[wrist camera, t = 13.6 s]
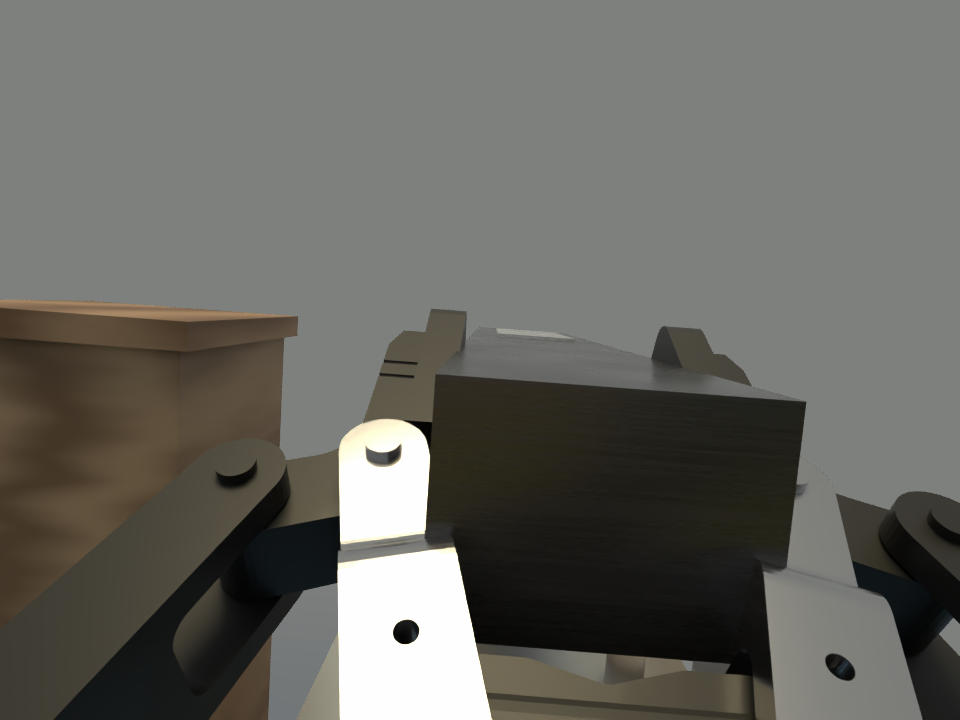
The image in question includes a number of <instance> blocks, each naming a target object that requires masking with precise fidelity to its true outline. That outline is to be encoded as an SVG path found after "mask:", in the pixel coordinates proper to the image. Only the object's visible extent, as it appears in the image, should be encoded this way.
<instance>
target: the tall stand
mask: <svg viewBox="0 0 960 720" xmlns="http://www.w3.org/2000/svg"><path fill="white" fill-rule="evenodd" d="M297 325H298V316H284V315H271V314H257V313H244V312H231V311H217V310H204V309H189V308H176V307H163V306H149V305H136V304H122V303H109V302H95V301H53V300H52V301H51V300H0V629H1V628H2V627H3V626H4V625H5V624H6V623H8V622H9V621H10V620H11V619H12V618H13V617H14V616H16V615H17V614H18V613H19V612H20V611H21V610H23V609H24V608H25V607H26V606H27V605H28V604H30V603H31V602H32V601H33V600H34V599H35V598H37V597H38V596H39V595H40V594H41V593H42V592H43V591H45V590H46V589H47V588H48V587H49V586H50V585H52V584H53V583H54V582H55V581H56V580H57V579H59V578H60V577H61V576H62V575H63V574H64V573H65V572H67V571H68V570H69V569H70V568H71V567H72V566H74V565H75V564H76V563H77V562H78V561H79V560H81V559H82V558H83V557H84V556H85V555H86V554H88V553H89V552H90V551H91V550H92V549H93V548H94V547H96V546H97V545H98V544H99V543H100V542H101V541H103V540H104V539H105V538H106V537H107V536H108V535H110V534H111V533H112V532H113V531H114V530H115V529H117V528H118V527H119V526H120V525H121V524H122V523H123V522H125V521H126V520H127V519H128V518H129V517H130V516H132V515H133V514H134V513H135V512H136V511H137V510H139V509H140V508H141V507H142V506H143V505H144V504H145V503H147V502H148V501H149V500H150V499H151V498H152V497H154V496H155V495H156V494H157V493H158V492H159V491H161V490H162V489H163V488H164V487H165V486H166V485H168V484H169V483H170V482H171V481H172V480H173V479H174V478H176V477H177V476H178V475H179V474H180V473H181V472H183V471H184V470H185V469H186V468H187V467H188V466H190V465H191V464H192V463H193V462H194V461H195V460H197V459H198V458H199V457H200V456H201V455H203V454H204V453H205V452H207V451H208V450H210V449H212V448H213V447H215V446H218V445H220V444H222V443H225V442H228V441H233V440H237V439H246V438H248V439H261V440H265V441H268V442H271V443H273V444H275V445H276V446H277V447H279V445H280V422H281V421H280V420H281V398H282V375H283V351H284V349H283V348H284V338H285V337H291V336H297ZM270 656H271V636H270V637H269V639H268V640H267V641H266V643H265V644H264V646H263V647H262V648H261V650H260V651H259V652H258V654H257V655H256V656H255V658H254V659H253V660H252V662H251V663H250V664H249V666H248V667H247V668H246V670H245V671H244V673H243V674H242V675H241V677H240V678H239V679H238V681H237V682H236V683H235V685H234V686H233V687H232V689H231V690H230V691H229V693H228V694H227V696H226V697H225V698H224V700H223V701H222V702H221V704H220V705H219V706H218V708H217V709H216V710H215V712H214V713H213V714H212V716H211V717H210V719H209V720H268V705H269V680H270V659H271V657H270Z"/></svg>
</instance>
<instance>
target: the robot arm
mask: <svg viewBox="0 0 960 720" xmlns="http://www.w3.org/2000/svg"><path fill="white" fill-rule="evenodd" d="M466 316H467V315H466V311H453V310H440V309H431V312H430V316H429V319H428V324H427V328H426V332H414V331H403V332H402V333H401V334H400V335H399V336H398V337H396V338H395V339H394V340H393V341H392V342H391V343H390V344H389V346H388V349H387V352H386V355H385V358H384V363H383V364H382V367H381V370H380V376H379V377H378V380H377V382H376V386H375V388H374V391H373V394H372V397H371V401H370V403H369V406H368V409H367V412H366V415H365V418H364V421H363V424H361V425H359V426H357V427H355V428H353V429H352V430H351V431H350V432H348V433H347V435H346V436H345V437H344V438H343V440H342V441H341V444H340V447H339V448H338V449H336V450H334V451H331V452H328V453H325V454H321V455H317V456H311V457H305V458H298V459H292V460H285V456H284V454H283V452H282V451H281V449H280V448H279V447H277V446H276V445H275V444H273V443H271V442H268V441H265V440H261V439H248V438H246V439H237V440H233V441H228V442H225V443H222V444H220V445H218V446H215V447H213V448H212V449H210V450H208V451H207V452H205V453H204V454H203V455H201V456H200V457H199V458H198V459H197V460H195V461H194V462H193V463H192V464H191V465H190V466H188V467H187V468H186V469H185V470H184V471H183V472H181V473H180V474H179V475H178V476H177V477H176V478H174V479H173V480H172V481H171V482H170V483H169V484H168V485H166V486H165V487H164V488H163V489H162V490H161V491H159V492H158V493H157V494H156V495H155V496H154V497H152V498H151V499H150V500H149V501H148V502H147V503H145V504H144V505H143V506H142V507H141V508H140V509H139V510H137V511H136V512H135V513H134V514H133V515H132V516H130V517H129V518H128V519H127V520H126V521H125V522H123V523H122V524H121V525H120V526H119V527H118V528H117V529H115V530H114V531H113V532H112V533H111V534H110V535H108V536H107V537H106V538H105V539H104V540H103V541H101V542H100V543H99V544H98V545H97V546H96V547H94V548H93V549H92V550H91V551H90V552H89V553H88V554H86V555H85V556H84V557H83V558H82V559H81V560H79V561H78V562H77V563H76V564H75V565H74V566H72V567H71V568H70V569H69V570H68V571H67V572H65V573H64V574H63V575H62V576H61V577H60V578H59V579H57V580H56V581H55V582H54V583H53V584H52V585H50V586H49V587H48V588H47V589H46V590H45V591H43V592H42V593H41V594H40V595H39V596H38V597H37V598H35V599H34V600H33V601H32V602H31V603H30V604H28V605H27V606H26V607H25V608H24V609H23V610H21V611H20V612H19V613H18V614H17V615H16V616H14V617H13V618H12V619H11V620H10V621H9V622H8V623H6V624H5V625H4V626H3V627H2V628H1V629H0V720H209V719H210V717H211V716H212V714H213V713H214V712H215V710H216V709H217V708H218V706H219V705H220V704H221V702H222V701H223V700H224V698H225V697H226V696H227V694H228V693H229V691H230V690H231V689H232V687H233V686H234V685H235V683H236V682H237V681H238V679H239V678H240V677H241V675H242V674H243V673H244V671H245V670H246V668H247V667H248V666H249V664H250V663H251V662H252V660H253V659H254V658H255V656H256V655H257V654H258V652H259V651H260V650H261V648H262V647H263V646H264V644H265V643H266V641H267V640H268V639H269V637H270V636H271V635H272V633H273V632H274V631H275V629H276V628H277V626H278V625H279V624H280V622H281V621H282V620H283V618H284V617H285V616H286V614H287V613H288V612H289V610H290V609H291V608H292V606H293V605H294V604H295V602H296V601H297V600H298V598H299V597H300V595H301V594H302V592H303V590H308V589H312V588H317V587H321V586H325V585H330V584H334V583H338V604H339V605H338V608H339V672H340V720H960V656H959V655H958V654H957V653H956V652H955V651H954V650H953V649H952V648H951V647H950V646H949V645H948V644H947V643H946V641H944V640H943V638H942V637H941V636H940V635H939V633H940V632H941V631H942V630H943V629H944V628H945V626H946V625H947V624H948V623H949V622H950V621H951V620H952V619H953V618H955V619H956V620H957V621H958V622H959V624H960V503H958V502H956V501H954V500H951V499H949V498H947V497H943V496H941V495H937V494H933V493H928V492H908V493H905V494H903V495H901V496H899V497H898V499H897V500H896V501H895V503H894V504H893V506H892V507H891V509H890V510H887V509H883V508H880V507H877V506H874V505H870V504H867V503H864V502H860V501H857V500H854V499H851V498H847V497H844V496H841V495H838V494H836V493H835V489H834V487H833V484H832V483H831V481H830V479H829V478H828V477H827V476H826V474H825V473H824V472H823V471H822V470H821V469H819V468H818V467H817V466H816V465H814V464H813V463H811V462H810V461H808V460H807V459H805V458H803V457H801V456H800V459H799V467H798V476H797V484H796V493H795V501H794V509H793V518H792V526H791V535H790V543H789V552H788V560H787V567H783V566H780V565H776V564H772V563H769V562H765V561H762V560H758V559H756V562H755V566H754V570H753V574H752V578H751V582H750V586H749V590H748V594H747V597H746V601H745V605H744V609H743V613H742V617H741V621H740V625H739V629H738V632H737V636H736V640H735V644H734V648H733V652H732V656H731V660H730V664H724V663H712V662H699V661H693V667H692V671H684V670H683V671H678V672H673V673H668V674H663V675H658V676H653V677H648V678H643V679H638V680H633V681H628V682H623V683H618V684H604V683H600V682H597V681H594V680H591V679H588V678H585V677H582V676H579V675H576V674H574V673H571V672H568V671H565V670H562V669H559V668H556V667H553V666H550V665H547V664H545V663H542V662H539V661H536V660H533V659H530V658H525V657H513V656H501V655H489V654H477V649H476V645H475V640H474V635H473V630H472V626H471V621H470V616H469V611H468V607H467V602H466V597H465V592H464V588H463V583H462V578H461V573H460V569H459V564H458V559H457V554H456V550H455V546H454V542H453V539H452V537H451V535H445V536H438V537H431V538H424V536H425V521H426V506H427V491H428V477H429V462H430V447H431V432H432V417H433V402H434V388H435V374H436V373H437V372H438V371H439V370H440V368H441V367H442V366H443V365H444V364H445V363H446V362H447V361H448V360H449V359H450V358H451V357H452V356H453V355H454V353H455V352H456V351H461V349H462V348H463V347H464V346H465V340H466ZM651 359H654V360H657V361H661V362H664V363H668V364H671V365H675V366H678V367H682V368H688V369H691V370H695V371H698V372H702V373H706V374H709V375H713V376H716V377H720V378H723V379H727V380H731V381H734V382H738V383H741V384H745V385H748V386H751V384H750V382H749V380H748V378H747V377H746V375H745V373H744V371H743V370H742V369H741V368H740V367H738V366H737V365H736V364H735V363H734V362H733V361H731V360H730V359H729V358H728V357H727V356H726V355H719V354H713V352H712V350H711V348H710V346H709V344H708V342H707V339H706V337H705V335H704V334H703V332H702V331H701V330H700V329H693V328H692V329H691V328H678V327H665V326H664V327H662V328H661V329H660V331H659V333H658V336H657V339H656V343H655V347H654V351H653V355H652V358H651Z"/></svg>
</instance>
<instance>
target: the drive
mask: <svg viewBox="0 0 960 720" xmlns="http://www.w3.org/2000/svg"><path fill="white" fill-rule="evenodd" d="M805 408H806V402H805V401H801V400H798V399H795V398H791V397H788V396H784V395H781V394H777V393H773V392H770V391H766V390H763V389H759V388H755V387H752V386H748V385H745V384H741V383H738V382H734V381H731V380H727V379H723V378H720V377H716V376H713V375H709V374H706V373H702V372H698V371H695V370H691V369H688V368H682V367H678V366H675V365H671V364H668V363H664V362H661V361H657V360H654V359H651V358H648V357H645V356H641V355H638V354H634V353H631V352H627V351H623V350H620V349H616V348H613V347H609V346H606V345H602V344H599V343H595V342H591V341H588V340H584V339H581V338H577V337H573V336H570V335H566V334H563V333H552V332H539V331H525V330H512V329H497V328H484V327H483V328H482V327H479V328H478V329H477V330H476V331H475V332H474V333H473V334H472V335H471V336H470V337H469V339H467V341H466V342H465V346H464V347H463V348H462V349H461V351H456V352H455V353H454V355H453V356H452V357H451V358H450V359H449V360H448V361H447V362H446V363H445V364H444V365H443V366H442V367H441V368H440V370H439V371H438V372H437V373H436V374H435V388H434V402H433V417H432V432H431V447H430V462H429V477H428V491H427V506H426V521H425V536H424V538H431V537H438V536H445V535H451V537H452V539H453V542H454V546H455V550H456V554H457V559H458V564H459V569H460V573H461V578H462V583H463V588H464V592H465V597H466V602H467V607H468V611H469V616H470V621H471V626H472V630H473V635H474V640H475V643H478V644H490V645H502V646H515V647H527V648H539V649H551V650H564V651H576V652H588V653H601V654H613V655H625V656H638V657H650V658H662V659H675V660H688V661H699V662H712V663H724V664H730V660H731V656H732V652H733V648H734V644H735V640H736V636H737V632H738V629H739V625H740V621H741V617H742V613H743V609H744V605H745V601H746V597H747V594H748V590H749V586H750V582H751V578H752V574H753V570H754V566H755V562H756V559H758V560H762V561H765V562H769V563H772V564H776V565H780V566H783V567H787V560H788V552H789V543H790V535H791V526H792V518H793V509H794V501H795V493H796V484H797V476H798V467H799V459H800V450H801V442H802V434H803V425H804V417H805Z"/></svg>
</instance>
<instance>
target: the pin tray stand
mask: <svg viewBox="0 0 960 720" xmlns="http://www.w3.org/2000/svg"><path fill="white" fill-rule="evenodd" d="M475 645H476V649H477V654H489V655H501V656H513V657H525V658H530V659H533V660H536V661H539V662H542V663H545V664H547V665H550V666H553V667H556V668H559V669H562V670H565V671H568V672H571V673H574V674H576V675H579V676H582V677H585V678H588V679H591V680H594V681H597V682H600V683H604V684H618V683H623V682H628V681H633V680H638V679H643V678H648V677H653V676H658V675H663V674H668V673H673V672H678V671H683V670H684V671H687V670H686V669H685V667H684V665H683V663H682V661H681V660H675V659H662V658H650V657H638V656H625V655H613V654H601V653H588V652H576V651H564V650H551V649H539V648H527V647H515V646H502V645H490V644H478V643H475ZM297 720H340V672H339V632H338V634H337V636H336V638H335V640H334V642H333V644H332V646H331V648H330V650H329V653H328V655H327V657H326V659H325V661H324V663H323V665H322V667H321V669H320V671H319V674H318V676H317V678H316V680H315V682H314V684H313V686H312V688H311V690H310V692H309V694H308V697H307V699H306V701H305V703H304V705H303V707H302V709H301V711H300V713H299V715H298V717H297Z"/></svg>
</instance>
